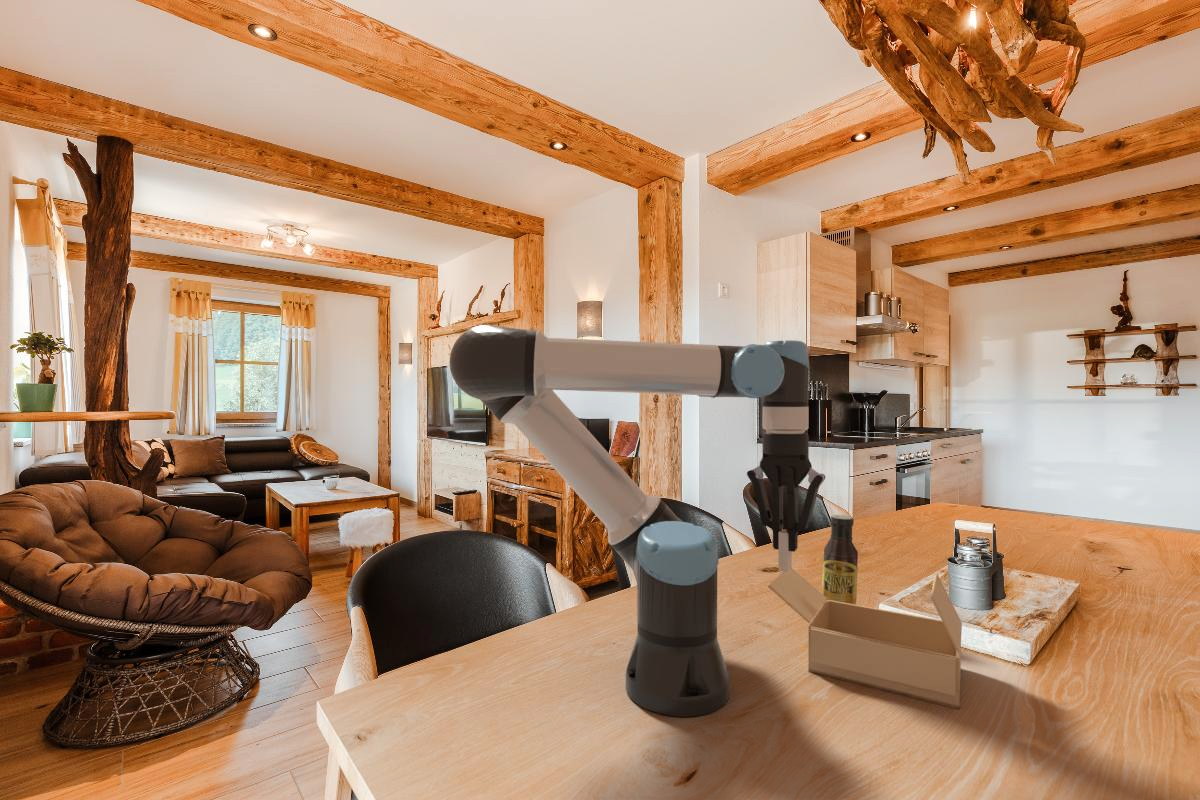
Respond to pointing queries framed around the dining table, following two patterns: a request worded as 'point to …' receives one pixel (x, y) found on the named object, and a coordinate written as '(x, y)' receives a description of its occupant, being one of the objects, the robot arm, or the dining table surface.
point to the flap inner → (798, 594)
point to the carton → (886, 651)
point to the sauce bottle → (840, 562)
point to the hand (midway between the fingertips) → (785, 568)
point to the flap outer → (947, 612)
